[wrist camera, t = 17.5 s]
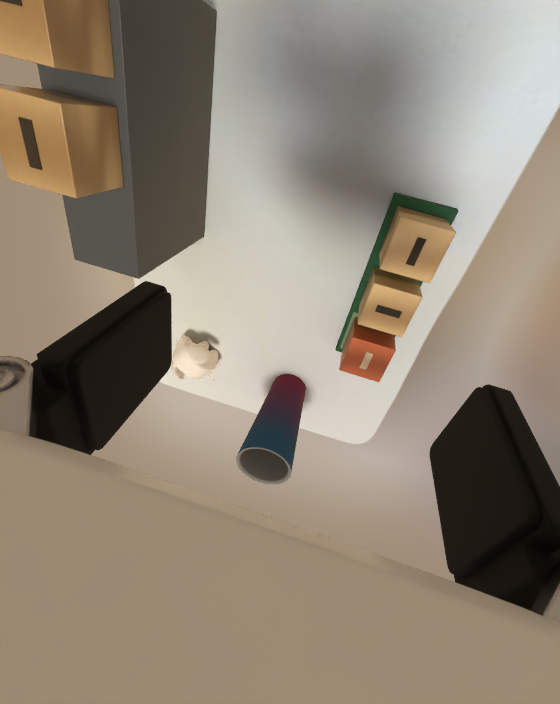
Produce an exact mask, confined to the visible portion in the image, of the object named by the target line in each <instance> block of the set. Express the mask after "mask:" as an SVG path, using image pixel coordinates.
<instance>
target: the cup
mask: <svg viewBox="0 0 560 704" xmlns="http://www.w3.org/2000/svg"><path fill="white" fill-rule="evenodd" d="M304 395H305V385H304V383H303V381H302V380H301V379H299V378H298V377H296V376H294V375H290V374H284V375H281V376H279V377H277V378H276V380H275V381H274V383H273V385H272V387H271V389H270V391H269V393H268V395H267V397H266V399H265V401H264V403H263V405H262V407H261V409H260V411H259V413H258V415H257V417H256V419H255V421H254V423H253V425H252V427H251V429H250V431H249V433H248V435H247V437H246V439H245V441H244V443H243V445H242V447H241V449H240V451H239V453H238V455H237V464H238V467H239V468H240V470H241V471H242V472H243V473H244V474H245V475H247V476H248V477H250V478H251V479H253V480H255V481H258V482H261V483H264V484H280V483H283V482H285V481H286V480H288V478H289V477H290V475H291V470H292V464H293V459H294V452H295V447H296V441H297V435H298V429H299V424H300V418H301V412H302V406H303V401H304Z"/></svg>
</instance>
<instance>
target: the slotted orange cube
mask: <svg viewBox="0 0 560 704" xmlns="http://www.w3.org/2000/svg"><path fill="white" fill-rule="evenodd" d="M395 351H396V350H395V338H394V335H393V334H389V333H386V332H383V331H379V330H376V329H372V328H369V327H366V326H362V325H359V324H358V318H357V317H355V318H354V320H353V323H352V325H351V328H350V330H349V333H348V335H347V338H346V340H345V343H344V346H343V349H342V355H341V362H340V369H339V370H341V371H344V372H348V373H351V374H354V375H357V376H360V377H364V378H367V379H370V380H373V381H377V382H379V381H380V379H381V378H382V376H383V374H384V372H385V370H386V368H387V366H388V364H389V362H390V360H391V358H392V356H393V354H394V352H395Z"/></svg>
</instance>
